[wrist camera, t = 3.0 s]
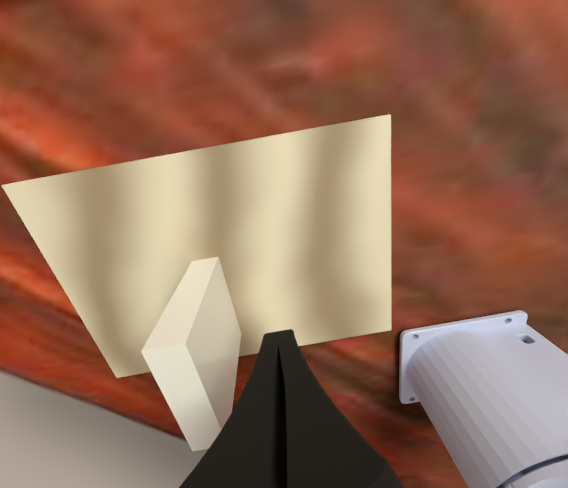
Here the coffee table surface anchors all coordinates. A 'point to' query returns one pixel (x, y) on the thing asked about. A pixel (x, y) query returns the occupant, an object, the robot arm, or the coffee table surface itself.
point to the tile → (197, 353)
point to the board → (226, 236)
